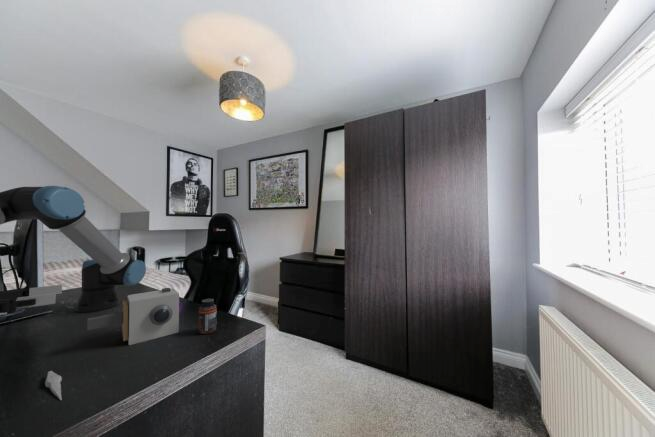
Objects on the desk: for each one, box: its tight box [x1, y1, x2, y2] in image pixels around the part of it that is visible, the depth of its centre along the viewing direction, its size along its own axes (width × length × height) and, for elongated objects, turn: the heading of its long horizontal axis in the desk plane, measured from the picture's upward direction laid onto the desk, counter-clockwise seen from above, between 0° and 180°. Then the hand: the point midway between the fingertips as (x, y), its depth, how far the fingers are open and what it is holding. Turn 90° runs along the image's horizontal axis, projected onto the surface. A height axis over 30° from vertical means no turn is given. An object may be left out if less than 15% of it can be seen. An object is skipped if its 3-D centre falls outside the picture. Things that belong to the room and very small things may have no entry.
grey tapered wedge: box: [44, 370, 63, 401], centre depth 58 cm, size 15×3×2 cm, turn 55°
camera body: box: [126, 287, 180, 346], centre depth 86 cm, size 12×14×15 cm
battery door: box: [86, 299, 128, 342], centre depth 79 cm, size 8×10×11 cm
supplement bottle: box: [197, 298, 218, 335], centre depth 89 cm, size 6×6×11 cm
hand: (59, 293), depth 71 cm, fingers open, 13 cm apart
